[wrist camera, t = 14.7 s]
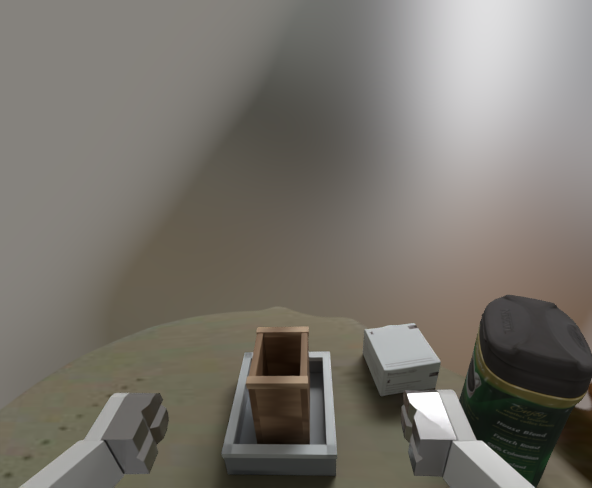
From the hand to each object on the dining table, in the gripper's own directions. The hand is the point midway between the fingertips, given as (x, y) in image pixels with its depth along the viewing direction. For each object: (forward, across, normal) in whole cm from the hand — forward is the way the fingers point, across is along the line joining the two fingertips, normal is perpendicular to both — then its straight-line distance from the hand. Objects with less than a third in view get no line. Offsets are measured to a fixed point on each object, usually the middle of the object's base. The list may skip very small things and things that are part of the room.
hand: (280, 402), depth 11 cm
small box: (+26, -12, +29) cm, 41 cm away
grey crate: (+19, +4, +28) cm, 34 cm away
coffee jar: (+15, -19, +29) cm, 38 cm away
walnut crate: (+19, +4, +28) cm, 34 cm away
